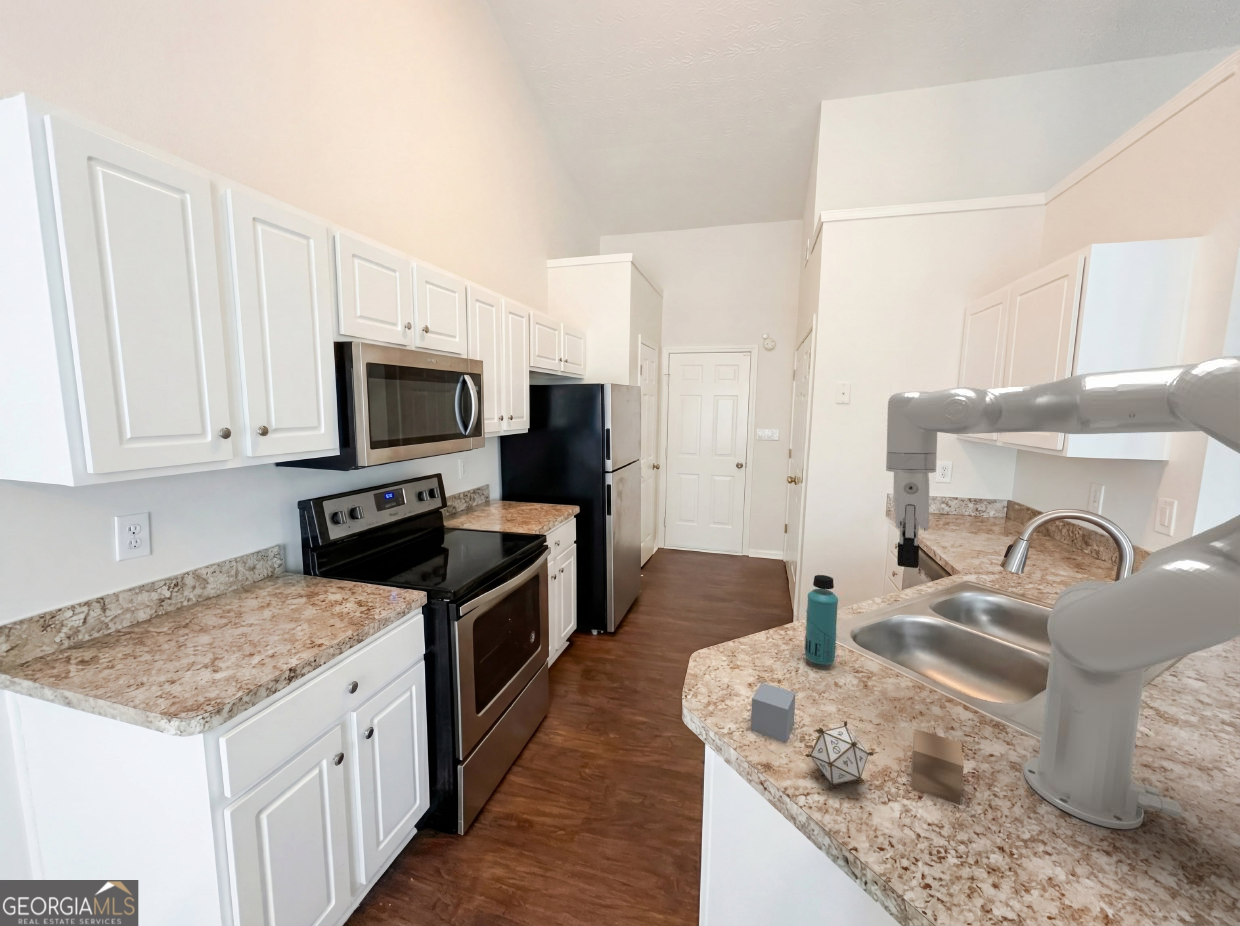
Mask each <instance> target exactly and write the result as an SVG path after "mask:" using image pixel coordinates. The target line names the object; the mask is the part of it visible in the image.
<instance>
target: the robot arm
mask: <svg viewBox="0 0 1240 926" xmlns="http://www.w3.org/2000/svg"><path fill="white" fill-rule="evenodd" d="M886 422H887V425H886V431H887V432H886V455H885V457H886V462H885V463H886V464H885V471H886V472H889V473H891V472H892V473H893V514H894V522H895V527H896V528H897V529H898V530H899V541H898V542H897V556H896V557H897V560H896V561H897V563H896V564H897V566H898V567H902V568H912V569H918V568H919V567H920V566H919V565H920V564H919V563H920V559H919V558H920V544H919V528H920V529H923V531H924V532H927V531H929V530H930V476H929V475H930V474H933V473H936V472H937V457H938V456H937V455H938V454H937V453H938V452H937V451H938V450H937V449H938V433H943V434H951V435H969V434H970V435H971V434H972V435H977V434H997V433H998V434H999V433H1000V434H1002V433H1003V434H1004V433H1005V434H1006V433H1030V432H1031V433H1038V432H1039V433H1040V432H1041V433H1044V432H1045V433H1047V432H1048V433H1060V434H1065V435H1098V434H1099V435H1100V434H1137V433H1139V434H1140V433H1142V434H1143V433H1175V432H1176V433H1179V432H1180V433H1181V432H1182V433H1183V432H1185V433H1186V432H1189V433H1190V432H1202V433H1204V434H1206V436H1207V435H1208V436H1209V437H1211V438H1212V439H1213V440H1216V441H1217V442H1219V443H1220V444H1222V445H1224V446H1225V447H1228V448H1229V449H1231V450H1232V451H1234V452H1236V453H1238V454H1239V455H1240V355H1230V356H1229V355H1227V356H1220V357H1214V358H1211V359H1207V360H1203V361H1202V362H1199V363H1190V364H1179V365H1169V366H1160V367H1158V366H1157V367H1149V368H1138V369H1126V370H1111V371H1101V372H1100V371H1099V372H1088V373H1082V374H1076V375H1072V376H1070V377H1066V378H1063V379H1060V380H1056V381H1055V380H1054V381H1053V382H1052V381H1051V382H1047V383H1041V384H1032V385H1025V386H1014V387H1013V386H1012V387H1010V386H1009V387H999V388H998V387H997V388H989V389H987V388H985V389H980V388H974V387H969V386H968V387H967V386H959V387H952V388H946V389H942V390H941V389H940V390H935V391H905V392H904V391H903V392H897V393H894V394H892V395H890V397H889V398H888V401H887V420H886ZM1051 609H1052V610H1051V611H1050V613H1049V616H1048V619H1047V628H1046V629H1047V636H1048V639H1049V641H1050V644H1051V648H1050V655H1049V663H1048V670H1047V671H1048V672H1047V680H1046V689H1045V696H1044V697H1045V698H1044V706H1043V715H1042V726H1041V734H1040V735H1041V736H1040V744H1039V756H1038V757H1033V758H1030V759H1028V760H1027V761H1026V762H1025V764H1024V766H1023V768H1024V769H1023V773H1024V778H1025V780H1026V782H1027V783H1028V784H1029V785H1030V787H1031V788H1032V789H1033V790H1034V791H1035V792H1036V793H1037V794H1038V795H1040V796H1041V797H1042V798H1044V799H1045V800H1046V801H1047V802H1049V803H1051V804H1052V805H1053V806H1055V807H1056V808H1058V809H1061V811H1064V812H1065V813H1067V814H1069V815H1071V816H1073V817H1074V816H1075V817H1077V818H1079V819H1081V820H1083V821H1086V822H1089V823H1091V824H1094V825H1098V826H1100V827H1101V826H1102V827H1104V828H1105V827H1106V828H1110V829H1117V830H1131V829H1133V830H1134V829H1136V828H1139V827H1140V826H1141V825H1143V821H1144V815H1145V814H1144V811H1145V810H1147V809H1151V810H1154V811H1158V812H1159V813H1162V814H1165V815H1169V816H1170V817H1171V816H1172V817H1175V818H1179V819H1180V818H1181V816H1182V808H1181V805H1180V803H1179V801H1176V800H1173V799H1170V798H1166V797H1164V796H1163V797H1162V796H1160V791H1159V789H1158V787H1154V786H1151V785H1147V784H1141V783H1139V782H1135V779H1133V778H1132V772H1133V764H1134V756H1135V748H1136V740H1137V733H1138V724H1139V716H1140V710H1141V705H1142V704H1141V703H1142V695H1143V688H1144V679H1145V672H1146V669H1149V668H1151V667H1155V666H1158V665H1161V664H1165V663H1168V662H1169V661H1174V660H1177V659H1180V658H1183V657H1186V656H1189V655H1191V654H1195V653H1197V652H1201V651H1203V650H1207V649H1210V648H1213V647H1216V646H1219V645H1222V644H1225V643H1227V642H1230V641H1232V640H1235V639H1236V638H1238V637H1240V514H1239V515H1236V516H1235V517H1232V518H1230V519H1229V520H1227V521H1225V522H1223V523H1220V524H1217V525H1216V526H1214V527H1211V528H1208V529H1207V530H1205V531H1202V532H1200V533H1198V534H1195V535H1193V536H1190V537H1189V538H1186V539H1184V540H1182V541H1179V542H1176V543H1174V544H1171V545H1169V546H1165V547H1163V548H1161V549H1158V550H1155V551H1154V552H1152V553H1151V554H1149V555H1148V556H1147V557H1145V559H1144V560H1143V561H1142V562H1141V565H1140V567H1139V570H1138V571H1136V572H1134V573H1132V574H1129V575H1128V576H1126V577H1122V578H1121V579H1119V580H1117V581H1114V582H1112V583H1111V582H1106V581H1103V580H1085V581H1080V582H1076V583H1074V584H1072V585H1069V586H1068V587H1066V588H1064V590H1063V591H1061V592H1060V594H1059V595H1058V596H1057V598H1056V600H1055V602H1054V604H1053V607H1052V608H1051Z"/></svg>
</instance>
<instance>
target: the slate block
mask: <svg viewBox="0 0 1240 926" xmlns="http://www.w3.org/2000/svg"><path fill="white" fill-rule="evenodd" d="M795 707H796V692H794V691H791V690H788V689H786V688H782V687H778V686H776V685H771V684H768V683H765V682H761V683H759V686H758V687H757V689H756V690H755V692H754V694H753V695H752V698H751V709H750V710H751V713H750V714H751V715H750V717H751V718H750V731H751V732H753V733H757V734H759V735H762V736H766V737H768V738H771V739H774V740H776V741H780V742H781V743H784V744H787V742H788V740H789V737H790V735H791V732H792V729H793V727H794V725H795V712H796V711H795V710H796V709H795Z"/></svg>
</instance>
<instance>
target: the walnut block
mask: <svg viewBox="0 0 1240 926" xmlns="http://www.w3.org/2000/svg"><path fill="white" fill-rule="evenodd" d="M963 756H964V755H963V749H962V742H961V741H958V740H954V739H952V738H948V737H945V736H942V735H938V734H934V733H931V732H928V731H925V730H921V729H918V728H914V729H913V743H912V755H911V771H910V772H911V773H910V774H911V775H910V777H911V778H910V781H911V782H910V788H911V789H913V790H916V791H919V792H922V793H924V794H928V795H930V796H933V797H936V798H939V799H941V800H945V801H947V802H949V803H953V804H956V805H958V806H961V801H962V792H963V782H964V781H963V780H964V769H965V766H964V757H963Z"/></svg>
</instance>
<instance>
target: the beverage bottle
mask: <svg viewBox="0 0 1240 926" xmlns="http://www.w3.org/2000/svg"><path fill="white" fill-rule="evenodd" d="M812 585H813V587H815V588H814V589H812V590H811V591H810V592H808V593H807V605H806V611H805V612H806V621H805V623H806V626H805V634H804V637H805V641H804V647H803V648H804V655H805V658H806V659H807V660H809V662H813V663H815V664H817V665H818V664H819V665H831V664H833V663H835V659H836V653H837V651H836V650H837V649H836V648H837V647H836V646H837V638H838V637H837V636H838V635H837V623H838V604H839V603H838V602H839V598H838V595H836V594H835V593H834V592H833V591H831V590H833V589H834V587H835V585H834V578H833V577H831V576H829V575H825V574H824V575H823V574H817V575H814V577H813V582H812Z"/></svg>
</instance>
